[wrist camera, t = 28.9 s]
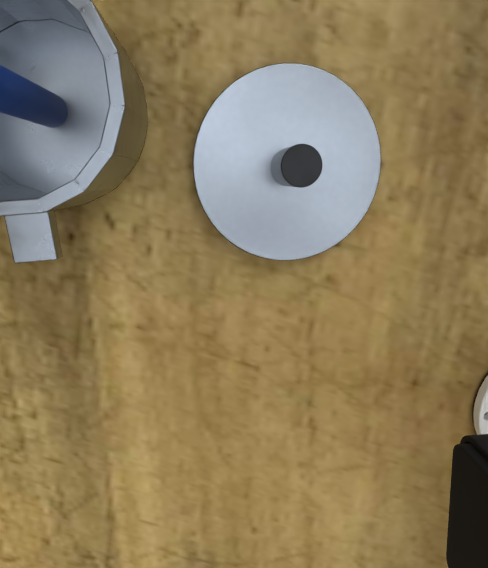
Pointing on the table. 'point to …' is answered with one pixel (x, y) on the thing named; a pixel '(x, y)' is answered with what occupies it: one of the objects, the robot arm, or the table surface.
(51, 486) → the table surface
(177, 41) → the table surface
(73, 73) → the pot
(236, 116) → the pot lid
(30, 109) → the pen
